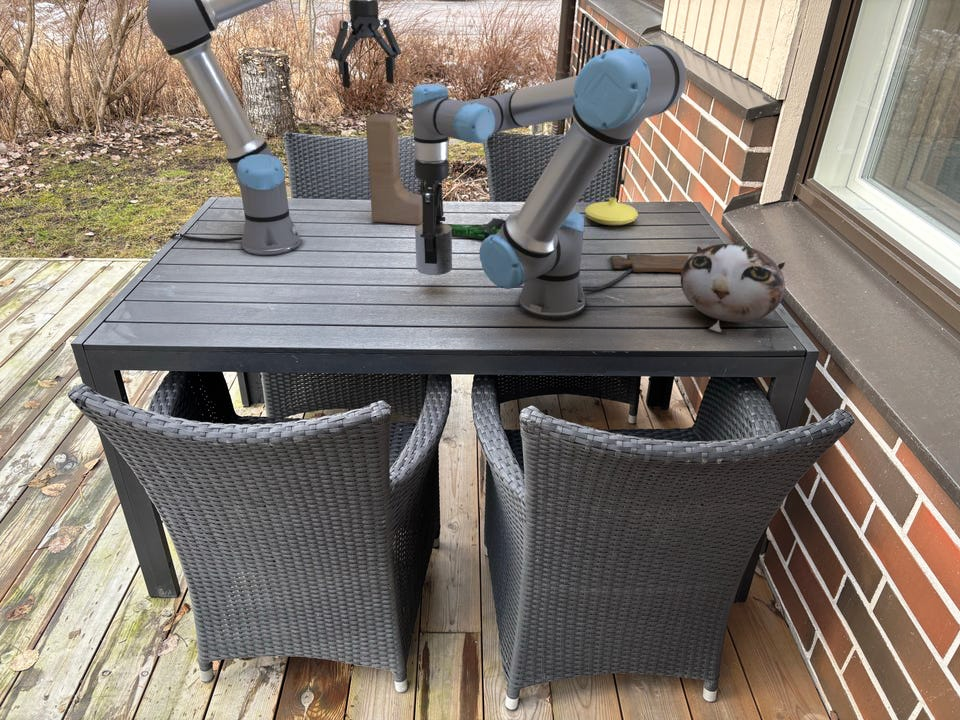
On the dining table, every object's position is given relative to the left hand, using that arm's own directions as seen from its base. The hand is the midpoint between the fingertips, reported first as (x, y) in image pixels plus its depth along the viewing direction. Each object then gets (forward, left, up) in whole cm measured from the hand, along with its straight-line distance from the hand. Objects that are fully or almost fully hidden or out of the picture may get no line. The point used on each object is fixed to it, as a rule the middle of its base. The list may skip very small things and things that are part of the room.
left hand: (368, 85), depth 198 cm
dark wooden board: (+85, +14, -38) cm, 94 cm away
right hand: (+45, -32, -29) cm, 62 cm away
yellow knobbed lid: (+60, +38, -38) cm, 81 cm away
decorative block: (+7, +2, -38) cm, 39 cm away
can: (+45, -32, -32) cm, 64 cm away
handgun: (+32, +7, -38) cm, 50 cm away
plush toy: (+108, -6, -38) cm, 115 cm away
